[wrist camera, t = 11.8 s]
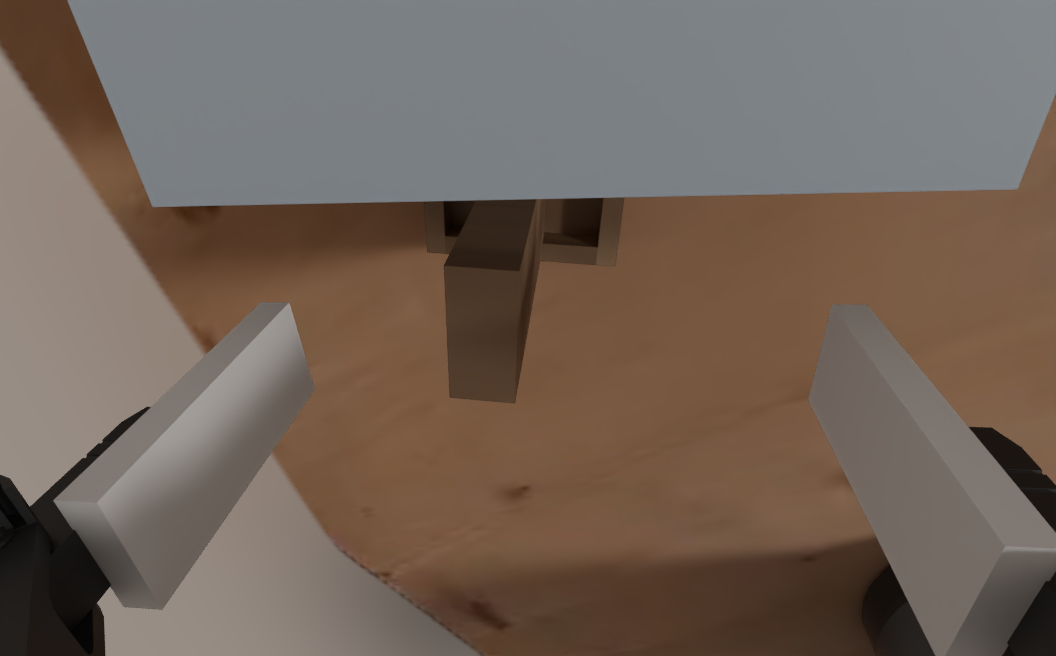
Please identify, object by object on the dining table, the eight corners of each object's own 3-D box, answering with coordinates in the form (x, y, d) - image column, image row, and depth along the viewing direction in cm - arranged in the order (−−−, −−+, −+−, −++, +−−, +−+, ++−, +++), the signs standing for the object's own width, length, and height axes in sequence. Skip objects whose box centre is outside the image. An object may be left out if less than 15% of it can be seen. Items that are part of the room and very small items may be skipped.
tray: (613, 246, 26) (627, 427, 16) (437, 233, 26) (341, 401, 16) (675, -243, 17) (792, -531, 7) (413, -250, 18) (180, -528, 8)
